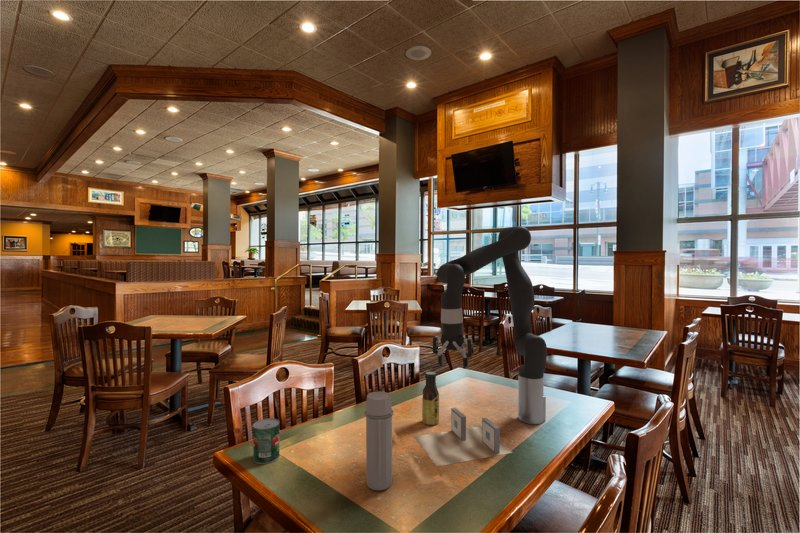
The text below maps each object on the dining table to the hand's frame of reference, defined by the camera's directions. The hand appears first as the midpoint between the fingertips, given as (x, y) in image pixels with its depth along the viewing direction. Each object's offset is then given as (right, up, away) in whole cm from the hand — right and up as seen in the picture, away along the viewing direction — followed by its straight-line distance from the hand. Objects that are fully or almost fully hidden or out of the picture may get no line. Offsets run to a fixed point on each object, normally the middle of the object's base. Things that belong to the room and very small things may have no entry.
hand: (453, 366), depth 134 cm
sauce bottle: (-7, -25, +9) cm, 27 cm away
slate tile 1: (+2, -23, -2) cm, 23 cm away
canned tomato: (-61, -25, -13) cm, 67 cm away
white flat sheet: (+1, -25, -8) cm, 26 cm away
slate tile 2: (+11, -23, -10) cm, 28 cm away
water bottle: (-24, -26, -29) cm, 46 cm away
